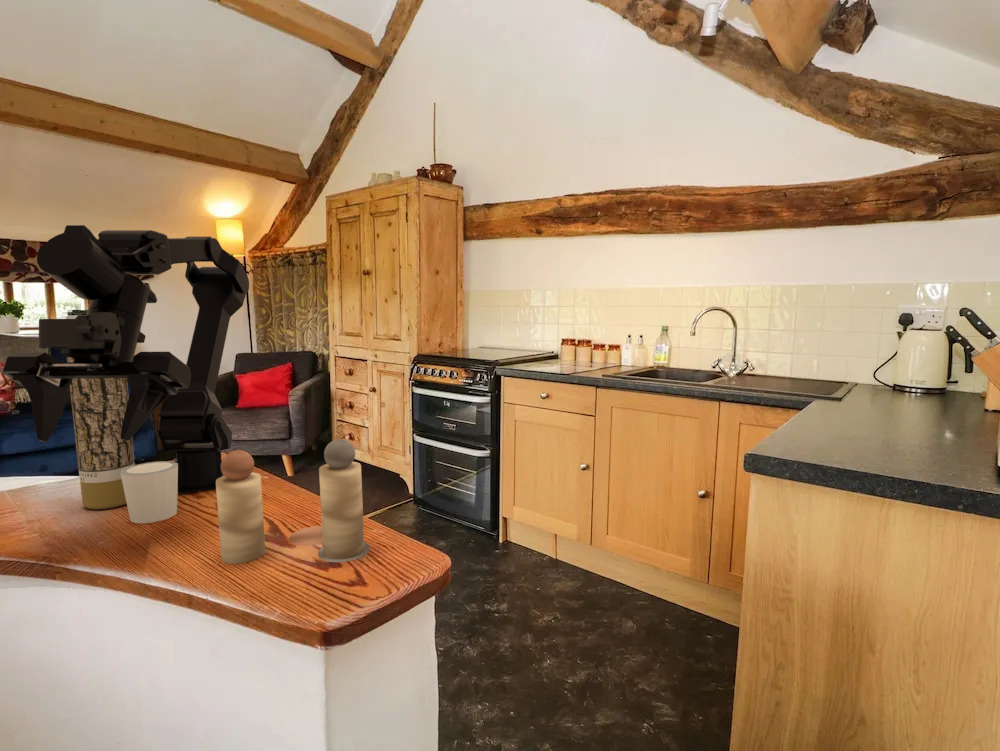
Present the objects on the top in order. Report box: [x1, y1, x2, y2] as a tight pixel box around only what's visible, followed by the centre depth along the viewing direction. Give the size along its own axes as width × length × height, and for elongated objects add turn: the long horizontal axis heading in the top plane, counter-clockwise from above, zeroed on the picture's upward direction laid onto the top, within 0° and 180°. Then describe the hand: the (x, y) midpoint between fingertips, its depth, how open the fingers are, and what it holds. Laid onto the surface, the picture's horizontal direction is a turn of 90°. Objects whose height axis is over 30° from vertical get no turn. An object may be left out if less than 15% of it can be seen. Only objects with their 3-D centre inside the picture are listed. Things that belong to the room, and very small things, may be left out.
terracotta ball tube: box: [215, 449, 266, 565], centre depth 63 cm, size 5×5×13 cm
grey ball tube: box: [318, 438, 365, 560], centre depth 64 cm, size 5×5×13 cm
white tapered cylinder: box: [120, 460, 178, 524], centre depth 78 cm, size 7×7×7 cm
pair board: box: [288, 525, 371, 563], centre depth 67 cm, size 13×7×1 cm, turn 49°
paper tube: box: [66, 357, 136, 510], centre depth 82 cm, size 7×7×25 cm
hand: (83, 440), depth 64 cm, fingers open, 9 cm apart
